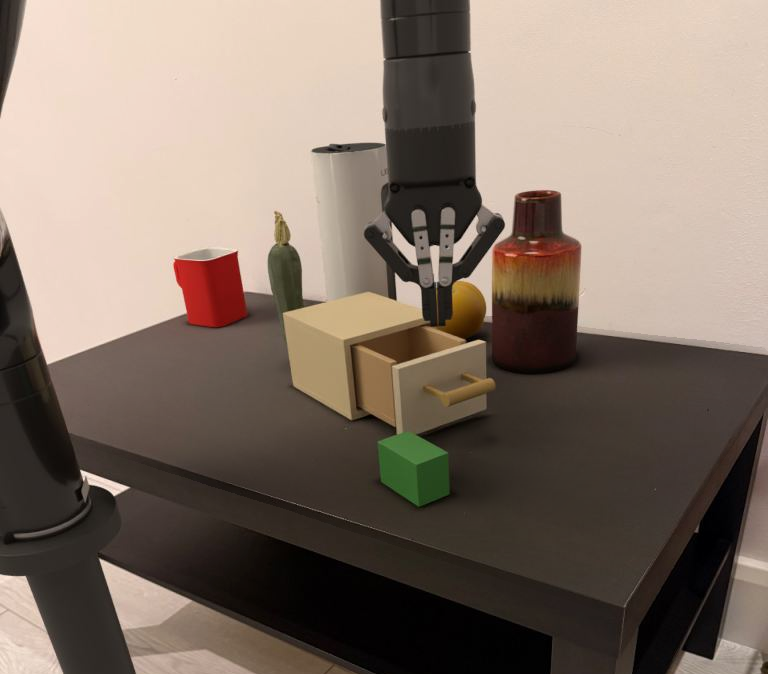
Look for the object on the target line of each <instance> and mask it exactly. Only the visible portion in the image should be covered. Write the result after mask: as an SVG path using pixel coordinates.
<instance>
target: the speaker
mask: <svg viewBox="0 0 768 674" xmlns="http://www.w3.org/2000/svg"><path fill="white" fill-rule="evenodd" d="M310 157H311V165H312V175H313V176H312V177H313V182H314V193H315V203H316V210H317V212H316V213H317V220H318V230H319V239H320V249H321V256H322V257H321V258H322V266H323V275H324V283H325V293H326V302H329V301H333V300H337V299H341V298H345V297H349V296H353V295H357V294H361V293H365V292H372V293H375V294H378V295H381V296H383V297H386V298H389V299H392V300H395V301H398V299H397V298H398V297H397V295H398V294H397V283H396V273H395V272H394V271H393V270H392V268H391V267H390V266H389V265H388V264H387V263H386V262H385V260H384V259H383V258H382V257H381V256H380V255H379V254H378V252H377V251H376V250H375V249H374V248H373V247H372V246H371V245H370V243H369V242H368V241H367V240H366V239H365V237H364V231H365V228H366V226H367V224H368V223H370V222H373V221H374V220H376V219H377V218H378V217H379V216H380V215H381V214H382V213H383V212H384V211H385V210H384V204H385V200H386V198H387V196H388V192H389V185H388V169H387V154H386V142H385V143H384V142H366V141H365V142H351V143H340V144H339V143H330V144H328V145H326V146H319V147H315V148H312V149H311V150H310ZM390 228H391V229H392V230H393V223H392V222H391V221H390ZM391 241H392V242H393V243H394V237H393V234H392V238H391Z"/></svg>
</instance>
